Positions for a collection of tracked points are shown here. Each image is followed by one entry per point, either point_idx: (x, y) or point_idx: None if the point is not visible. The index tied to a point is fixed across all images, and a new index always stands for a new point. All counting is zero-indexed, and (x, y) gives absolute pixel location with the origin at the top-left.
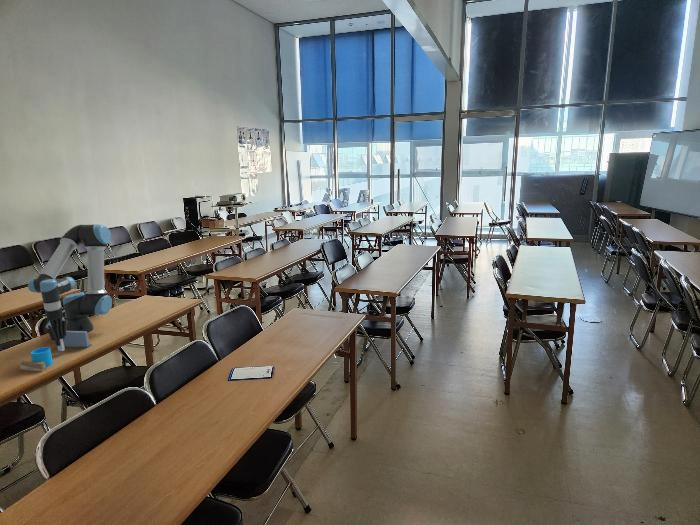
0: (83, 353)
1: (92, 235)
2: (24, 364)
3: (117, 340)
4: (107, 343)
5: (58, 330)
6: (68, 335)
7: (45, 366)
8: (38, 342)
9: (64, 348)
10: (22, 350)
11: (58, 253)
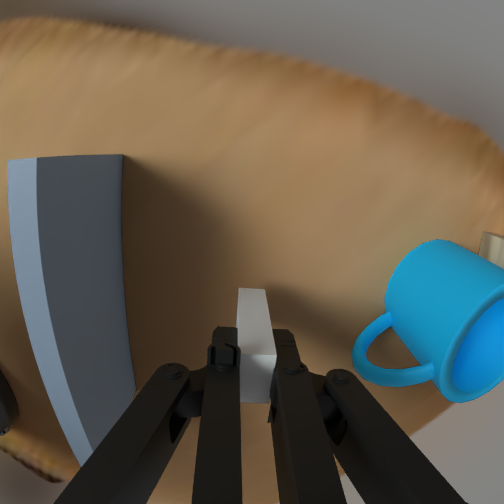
0: (242, 108)
1: None
2: None
3: (18, 35)
4: (53, 57)
5: (295, 467)
6: (86, 368)
7: (495, 236)
8: None
9: (240, 294)
10: None
11: None
